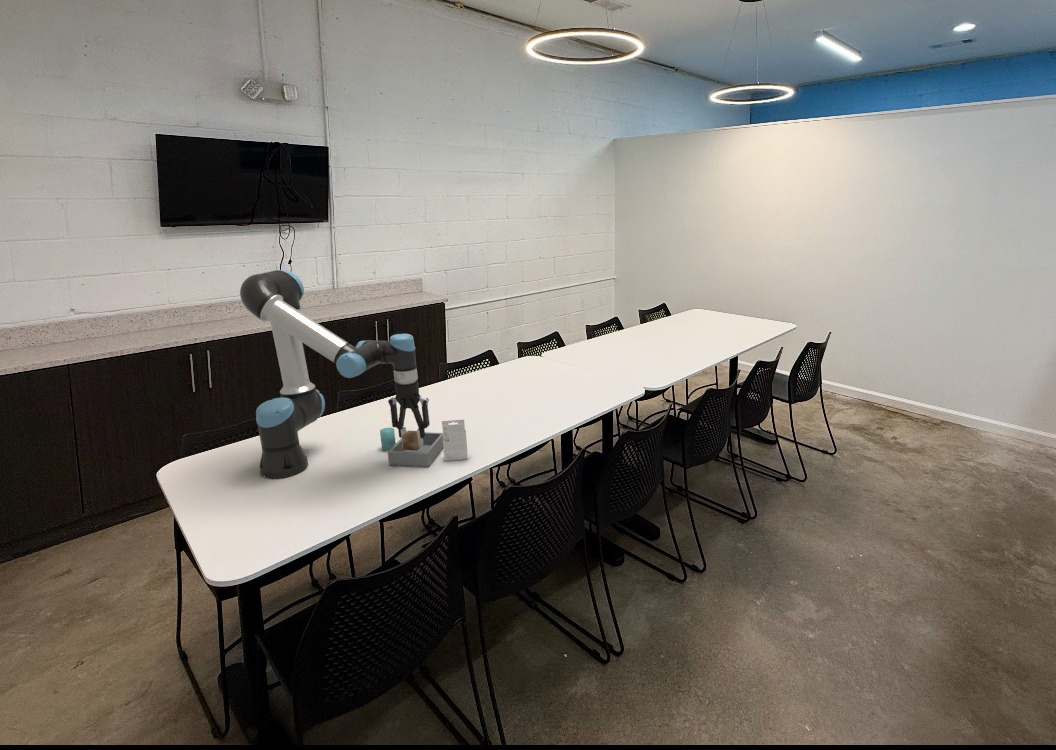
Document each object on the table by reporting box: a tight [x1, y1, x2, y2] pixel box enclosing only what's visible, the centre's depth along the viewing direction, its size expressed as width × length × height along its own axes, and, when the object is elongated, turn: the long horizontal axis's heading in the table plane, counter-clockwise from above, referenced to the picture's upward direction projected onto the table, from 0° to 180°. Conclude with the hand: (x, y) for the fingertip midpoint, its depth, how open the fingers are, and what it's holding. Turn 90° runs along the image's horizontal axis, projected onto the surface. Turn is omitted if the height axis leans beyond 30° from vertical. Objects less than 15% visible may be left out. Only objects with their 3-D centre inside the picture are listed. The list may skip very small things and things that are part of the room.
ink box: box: [441, 419, 469, 462], centre depth 199 cm, size 4×8×15 cm, turn 96°
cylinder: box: [379, 427, 397, 452], centre depth 211 cm, size 5×5×7 cm
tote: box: [387, 431, 444, 468], centre depth 204 cm, size 14×18×5 cm
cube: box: [402, 430, 419, 451], centre depth 199 cm, size 5×5×5 cm
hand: (413, 446), depth 199 cm, fingers closed on cube, 5 cm apart
